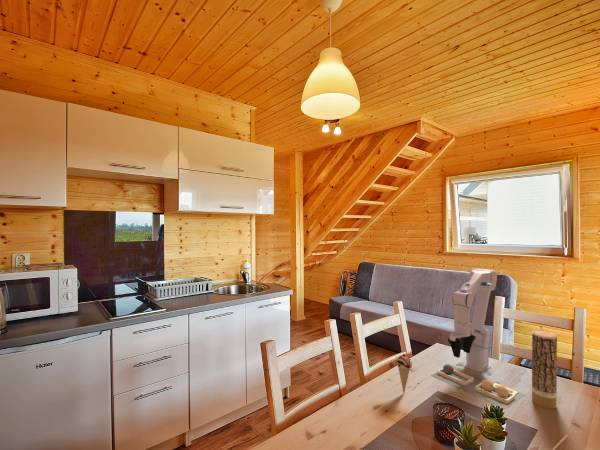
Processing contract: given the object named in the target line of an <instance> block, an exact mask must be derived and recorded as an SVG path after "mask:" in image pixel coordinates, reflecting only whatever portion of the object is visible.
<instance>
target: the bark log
mask: <svg viewBox="0 0 600 450" xmlns="http://www.w3.org/2000/svg"><path fill="white" fill-rule="evenodd" d="M531 332H532V334H531V335H532V336H531V338H532V339H531V347H532V348H531V358H532V359H531V400H532V403H533V404H535V405H536V406H538V407H541V408H544V409H548V410H554V409H556V408H557V393H558V391H557V388H558V387H557V381H558V379H557V376H558V375H557V372H558V371H557V370H558V369H557V364H558V361H557V359H558V354H557V353H558V348H557V347H558V337H557V336H558V335H557V334H555V333H553V332H550V331H546V330H538V329H537V330H536V329H535V330H532V331H531Z"/></svg>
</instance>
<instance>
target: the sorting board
mask: <svg viewBox="0 0 600 450" xmlns="http://www.w3.org/2000/svg"><path fill="white" fill-rule="evenodd" d="M451 366H452V367H453V369H454V372H453V374H451V375H448V374H446V373H445V372H444V371H443V367H442V368H439V369H437V372H435V373H433V374H431V375H430V376H431V377H433V378H435V379H437V380H440V381H441V382H444V383H447V384H448V385H451V386H453V387H455V388H457V389H460V390H462V391H464V392H467V393H469V394H471V395H473V396H475V397H477V398H479V399H482V400H484V401H486V402H489V403H491V404H493V405H495V406H497V405H498V406H497V407H499V406H501V407H500V408H502V409H504V410H506V409H507V408H509V407H511V406H512V405H513V404H515V403H516V402H517V401H519V400H521V398H523V397H524V396H525V395H526V394H525V393H522V392H520V391H517V390H515V389H512V388H510V387H507V386H504V385H502V384H499V383H497V382H495V381H492V380H489V379H487V378H484V377H482V376H479V375H477V374H474V373H473V372H472V373H471V372H469V371H467V370H465V369H461V368H459V367H457V366H454V365H451ZM483 380H489V381H491V382H492V383H493V385H494V389H493V390H492V391H490V392H488V391H485V390H484V389H483V388H482V385H481V384H482V381H483ZM500 385H501V386H504V387H506V388H507V390H508V392H509V395H508V396H507V397H506V398H502V397H499V396H498V395H497V393H496V387H497V386H500Z"/></svg>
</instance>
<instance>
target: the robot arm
mask: <svg viewBox="0 0 600 450" xmlns="http://www.w3.org/2000/svg"><path fill="white" fill-rule="evenodd" d="M469 278H470V279H469V280H468V282H464V283H463V284H462V286H461V287H460V288H459V290H457V291H454V292H452V295H451V299H450V301H451V304H452V309H453V328H452V329H451V330H450V331H451V332H452V333H451V334H449V337H447V342H448V343H449V346H450V347H451V351H452V354H453V357H454V358H457V359H459V358H460V357H461V351H462V350H463V352H464V353H465V355H466V357H465V359H466V361H465V363H463V364H461V366H463V367H465V368H468V369H471V370H473V371H476V372H478V373H482V372H483V371H486V370H487V369H490V368H491V365H490V363H489V361H490V360H489V359H490V358H489V353H490V352H489V348H490V344H491V343H490V342H491V340H490V339H491V337H490V336H491V333H490V331H489V330H488V329H487V328H486V327H485V322H486V318H487V317H486V316H487V312H488V311H487V310H488V306H489V300H490V296H491V291H494V290H495V289H496V286H497V282H498V273H497V270H495V269H486V268H476V267H472V268H471V269H470V271H469ZM476 294H477V295H476ZM475 296H476V300H475V305H474V310H473V314H472V320H471V319H470V317H471V314H470V313H471V312H470V311H471V310H470V309H471V307H472V305H473V302H474V297H475ZM470 321H471V322H470ZM460 339H461V340H460Z"/></svg>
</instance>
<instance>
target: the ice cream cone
mask: <svg viewBox="0 0 600 450" xmlns="http://www.w3.org/2000/svg"><path fill="white" fill-rule="evenodd" d="M395 364H396V365H397V367H398V372H399V373H398V374H399V377H400V384H401V387H402V392H403V393H405V391H406V387H407V383H408V378H409V373H410V370H411V368H412V366H413V363H412V362H411V358H410V357H409V356H407V355H406V354H405V353H402V354H400V355H399V356H398V357H397V360H396V361H395Z"/></svg>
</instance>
